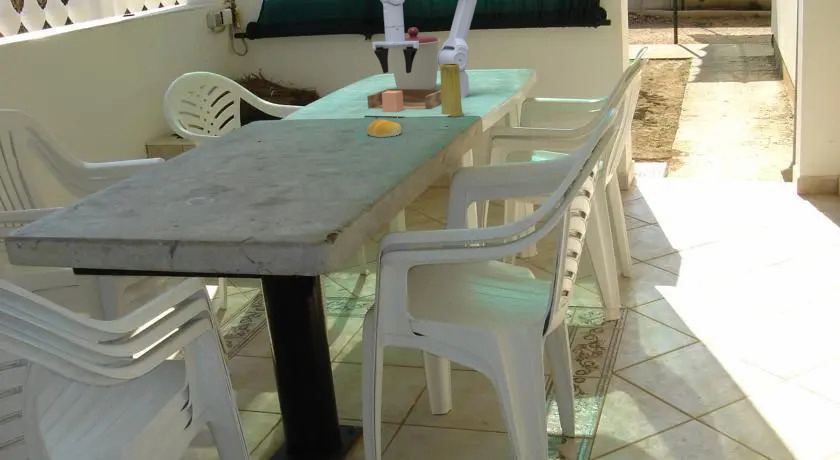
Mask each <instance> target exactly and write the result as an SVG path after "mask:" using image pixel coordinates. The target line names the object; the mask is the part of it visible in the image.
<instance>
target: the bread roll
mask: <svg viewBox="0 0 840 460" xmlns="http://www.w3.org/2000/svg"><path fill="white" fill-rule="evenodd" d="M366 131H367V134H368V135H369V136H370V137H375V138H380V137H381V138H392V137H391V136H393V137H397V136H400V135H401V133H402V132H403V130H402V126H401V124H399V123H398V122H394V121H390V120H388V119H385V118H382V119H381V118H380V119H379V118H378V119H375V120H374V121H372V122H371V123H370V124H369V125H368V126H367V129H366ZM399 134H400V135H399ZM396 135H397V136H396Z"/></svg>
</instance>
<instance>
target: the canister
mask: <svg viewBox="0 0 840 460" xmlns="http://www.w3.org/2000/svg"><path fill="white" fill-rule="evenodd" d="M407 33H408V35H404V36H405V41H419V48H417V52H416V54H415V57H414V60H413V64H412V69H411V73H406V63H405V57H404V52H403V49H406V48H389V55H390V59H391V66H392V72H393V76H394V81H395V86H396V89H435V87H436V85H437V81H438V69H439V68H438V67H439V65H438V62H437V55H438V53H439V51H440V50H439V49H440V48H439V47H440V43H441V41H442V40H441V39H440V38H438V37H437V36H434V35H423V34H421V35H420V34H419V29H418V28H417V27H409V28H408V30H407ZM391 46H400V45H391Z"/></svg>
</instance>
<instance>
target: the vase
mask: <svg viewBox="0 0 840 460" xmlns="http://www.w3.org/2000/svg"><path fill="white" fill-rule="evenodd" d="M439 67H440V72H439V73H440V89H441V115H448V116H446V118H456V117H457V118H458V117H461V116H463V114H464V112H463V109H462V98H461V91H460V76H459V64H457V63H448V64H441V65H440V66H439Z"/></svg>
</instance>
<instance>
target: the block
mask: <svg viewBox="0 0 840 460" xmlns="http://www.w3.org/2000/svg"><path fill="white" fill-rule="evenodd" d="M382 104H383V109H382V112H383V113H399V112H402V111H404V110H405V109H404V108H403V92H402V91H386V92H383V93H382Z"/></svg>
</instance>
